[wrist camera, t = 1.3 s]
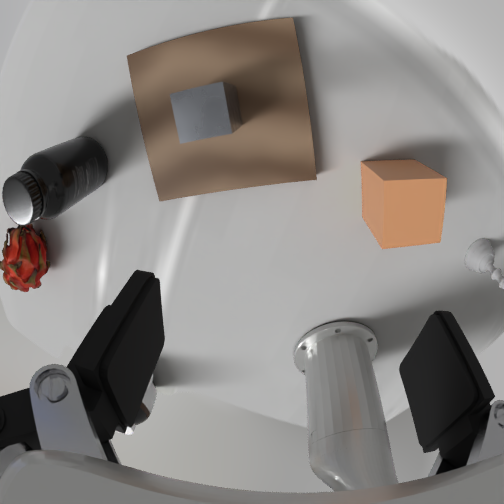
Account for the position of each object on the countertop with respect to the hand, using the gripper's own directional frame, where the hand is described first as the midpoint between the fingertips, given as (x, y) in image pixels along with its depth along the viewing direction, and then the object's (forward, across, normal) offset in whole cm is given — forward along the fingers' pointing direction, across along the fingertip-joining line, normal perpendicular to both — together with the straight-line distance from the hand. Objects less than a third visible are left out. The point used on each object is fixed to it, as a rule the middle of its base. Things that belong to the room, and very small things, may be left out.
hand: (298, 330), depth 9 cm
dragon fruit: (+22, +34, +14) cm, 43 cm away
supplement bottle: (+22, +23, +1) cm, 32 cm away
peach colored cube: (+22, -11, 0) cm, 25 cm away
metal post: (+20, +7, -5) cm, 22 cm away
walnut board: (+22, +7, -5) cm, 23 cm away
